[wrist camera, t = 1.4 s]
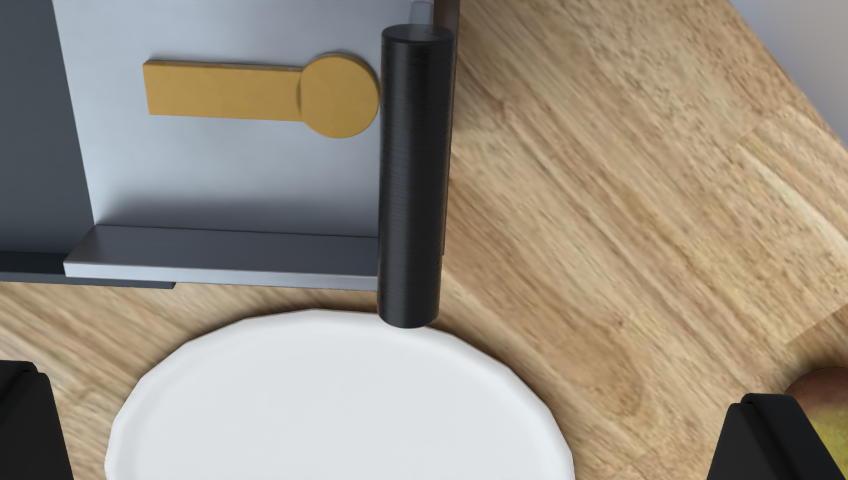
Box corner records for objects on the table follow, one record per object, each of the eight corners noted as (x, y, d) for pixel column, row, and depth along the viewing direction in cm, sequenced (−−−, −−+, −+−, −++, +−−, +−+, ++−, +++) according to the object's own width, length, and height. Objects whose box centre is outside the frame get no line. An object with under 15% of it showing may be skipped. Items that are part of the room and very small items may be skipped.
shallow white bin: (103, 231, 27) (-13, 373, 20) (37, -121, 21) (-152, -91, 14) (435, 246, 27) (434, 393, 20) (456, -101, 21) (463, -62, 14)
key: (144, 43, 23) (138, 47, 22) (381, 53, 23) (379, 58, 22) (156, 124, 24) (150, 130, 24) (379, 135, 24) (378, 141, 24)
